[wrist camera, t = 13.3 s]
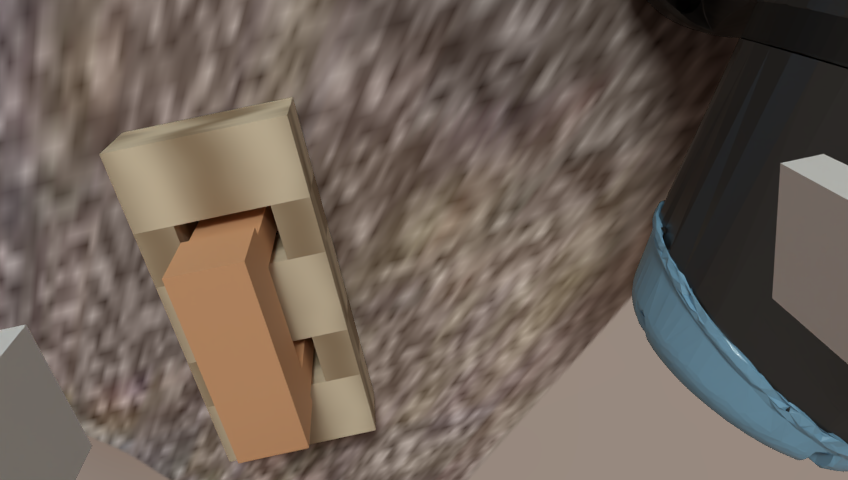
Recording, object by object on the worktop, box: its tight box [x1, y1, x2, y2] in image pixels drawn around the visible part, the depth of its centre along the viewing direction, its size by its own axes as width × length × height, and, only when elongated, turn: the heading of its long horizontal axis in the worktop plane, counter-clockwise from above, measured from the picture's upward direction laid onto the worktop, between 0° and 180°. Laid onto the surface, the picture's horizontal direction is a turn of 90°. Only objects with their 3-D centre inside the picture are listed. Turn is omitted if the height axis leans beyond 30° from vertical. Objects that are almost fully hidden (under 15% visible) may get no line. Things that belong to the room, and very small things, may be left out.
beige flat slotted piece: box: [100, 97, 376, 462], centre depth 41 cm, size 10×22×4 cm, turn 10°
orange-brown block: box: [162, 205, 314, 463], centre depth 38 cm, size 12×4×10 cm, turn 10°
